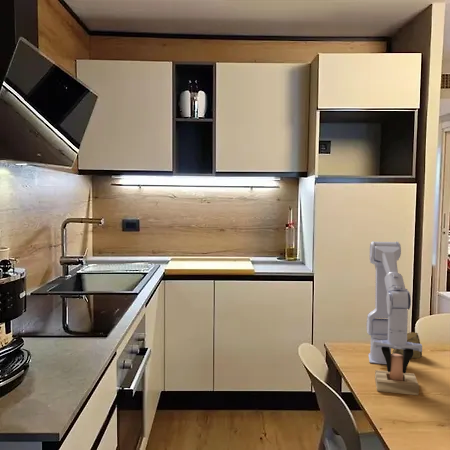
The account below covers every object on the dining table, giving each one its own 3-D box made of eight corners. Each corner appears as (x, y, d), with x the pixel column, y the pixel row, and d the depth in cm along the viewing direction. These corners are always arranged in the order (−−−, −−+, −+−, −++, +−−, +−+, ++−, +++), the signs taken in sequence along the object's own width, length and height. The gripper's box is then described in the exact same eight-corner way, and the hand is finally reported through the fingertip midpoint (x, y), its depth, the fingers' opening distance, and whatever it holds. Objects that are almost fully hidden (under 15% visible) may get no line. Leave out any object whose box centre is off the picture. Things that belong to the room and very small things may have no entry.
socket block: (375, 379, 157) (375, 370, 156) (413, 382, 154) (414, 373, 154) (377, 391, 147) (377, 381, 147) (418, 395, 144) (418, 385, 144)
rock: (387, 352, 177) (416, 353, 171) (389, 330, 181) (417, 331, 176) (396, 363, 184) (423, 364, 178) (397, 342, 188) (424, 343, 183)
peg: (388, 377, 153) (389, 353, 152) (402, 378, 152) (402, 354, 151) (389, 382, 149) (390, 357, 148) (403, 383, 148) (404, 358, 147)
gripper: (374, 330, 147) (372, 373, 148) (424, 334, 144) (423, 378, 144) (372, 324, 154) (371, 366, 155) (420, 328, 150) (419, 370, 151)
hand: (396, 371), depth 150 cm, fingers closed on peg, 4 cm apart
